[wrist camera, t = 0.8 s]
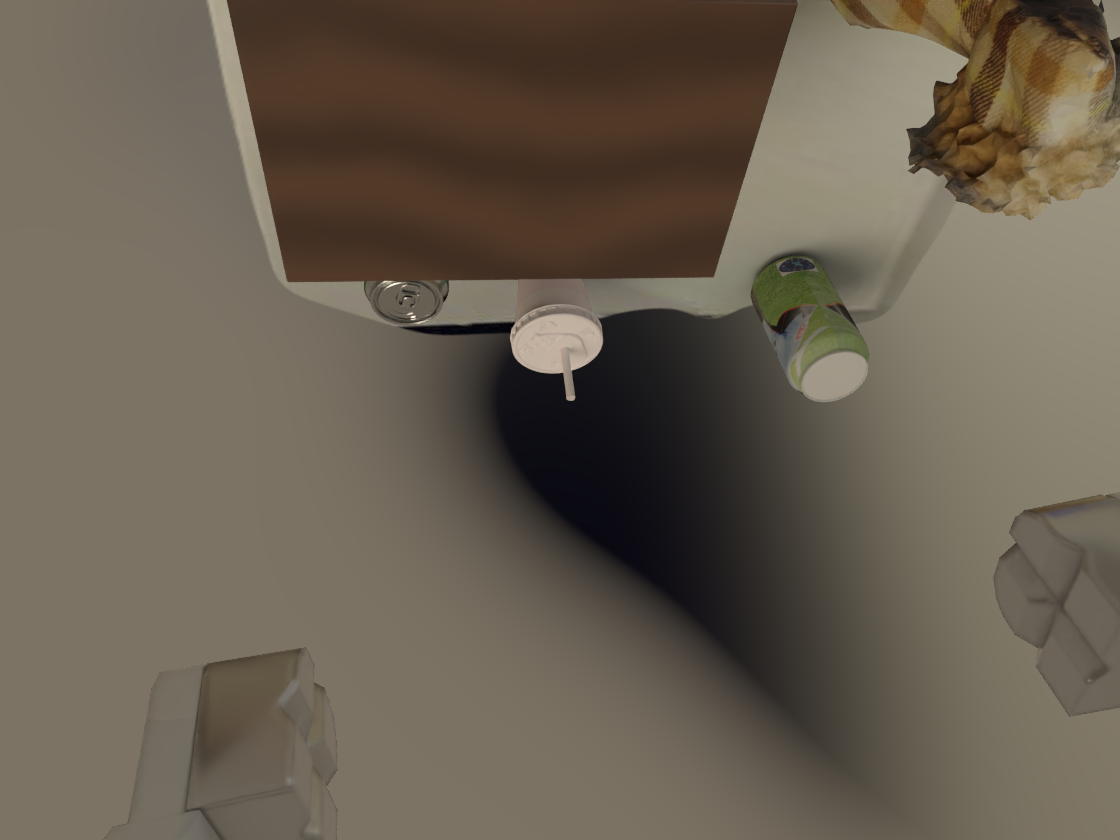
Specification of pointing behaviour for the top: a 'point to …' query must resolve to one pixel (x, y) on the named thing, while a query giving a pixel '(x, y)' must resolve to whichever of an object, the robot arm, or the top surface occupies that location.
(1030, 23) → the plaid cloth bag
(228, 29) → the top surface
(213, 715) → the robot arm
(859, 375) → the beverage can
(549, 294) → the smoothie
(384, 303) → the soda can
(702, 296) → the top surface
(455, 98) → the cupboard
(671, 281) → the top surface
